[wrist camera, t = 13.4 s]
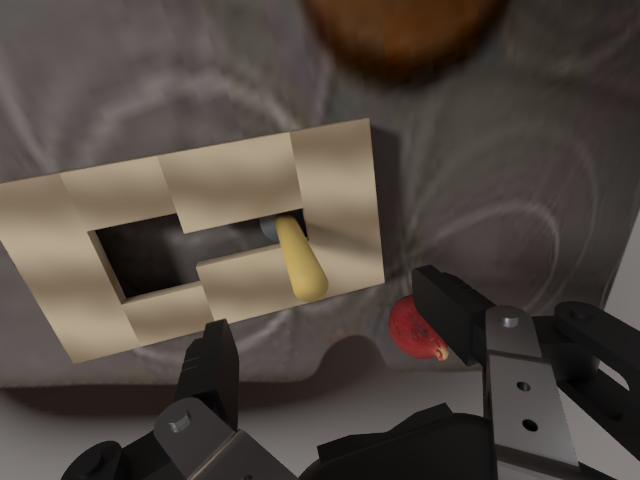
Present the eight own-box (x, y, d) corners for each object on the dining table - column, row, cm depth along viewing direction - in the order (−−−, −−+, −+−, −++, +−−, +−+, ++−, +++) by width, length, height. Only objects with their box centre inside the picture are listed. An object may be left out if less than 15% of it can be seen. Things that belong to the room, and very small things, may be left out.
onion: (366, 303, 32) (401, 355, 25) (411, 270, 32) (459, 313, 25) (392, 337, 35) (431, 393, 27) (434, 307, 34) (484, 355, 27)
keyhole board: (10, 180, 22) (-30, 189, 19) (354, 119, 26) (369, 118, 23) (94, 337, 27) (73, 364, 24) (370, 267, 31) (384, 282, 28)
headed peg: (254, 199, 26) (259, 258, 14) (302, 189, 27) (345, 238, 15) (265, 244, 28) (278, 331, 16) (310, 234, 28) (355, 310, 16)
